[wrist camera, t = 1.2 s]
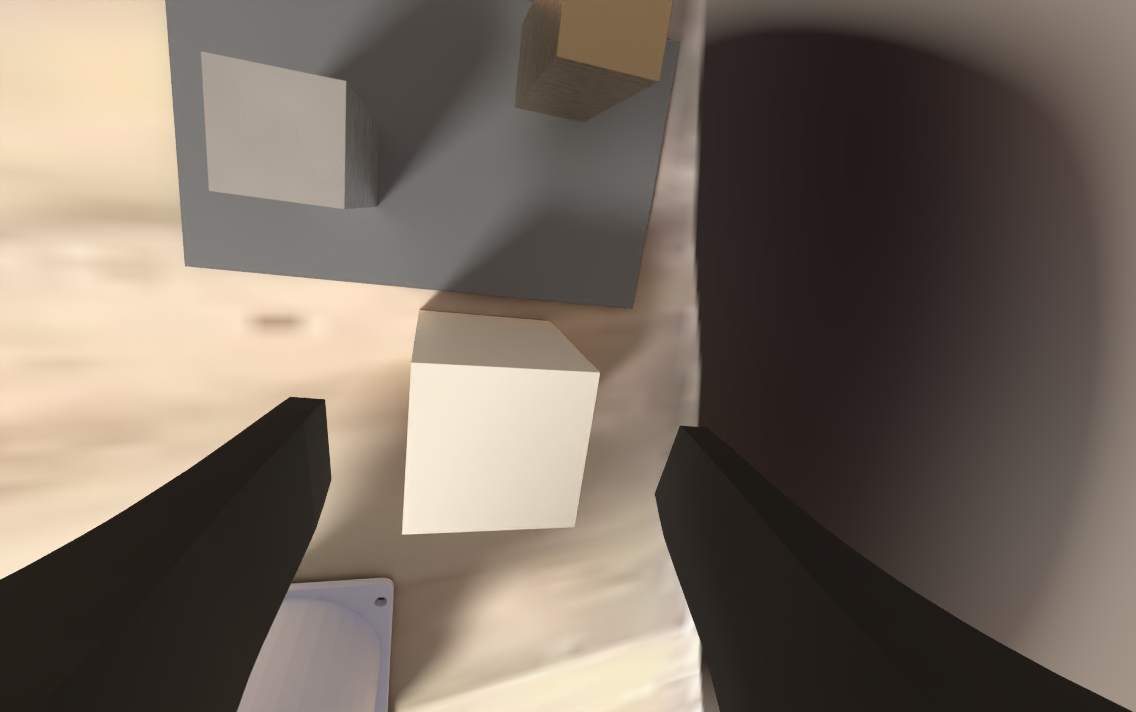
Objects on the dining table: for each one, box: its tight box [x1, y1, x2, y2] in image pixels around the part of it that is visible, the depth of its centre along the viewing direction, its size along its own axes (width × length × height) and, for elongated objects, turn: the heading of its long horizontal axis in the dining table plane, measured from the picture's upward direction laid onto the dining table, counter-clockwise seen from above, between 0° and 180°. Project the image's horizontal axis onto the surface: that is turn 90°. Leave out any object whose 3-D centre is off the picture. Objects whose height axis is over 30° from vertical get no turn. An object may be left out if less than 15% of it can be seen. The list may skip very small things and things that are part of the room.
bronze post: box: [514, 0, 673, 122], centre depth 14 cm, size 3×3×6 cm
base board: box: [165, 0, 680, 309], centre depth 17 cm, size 10×16×1 cm, turn 82°
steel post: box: [201, 51, 379, 209], centre depth 13 cm, size 3×3×6 cm
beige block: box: [402, 310, 600, 535], centre depth 17 cm, size 5×5×7 cm
